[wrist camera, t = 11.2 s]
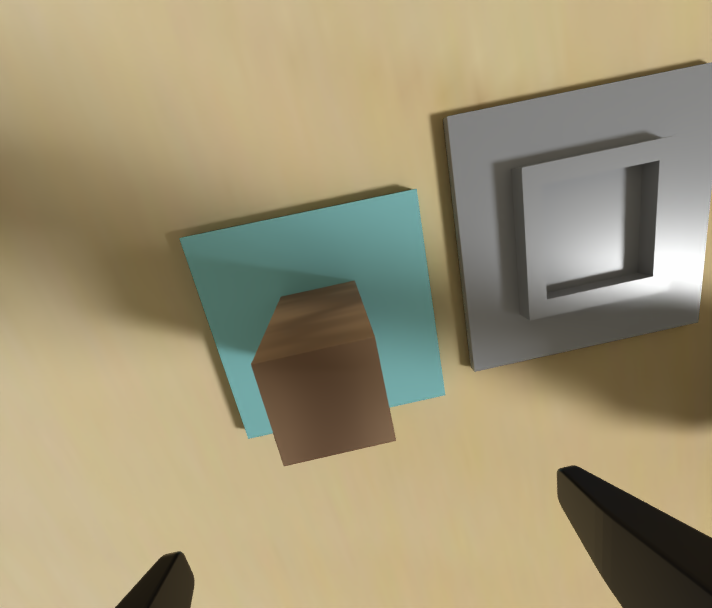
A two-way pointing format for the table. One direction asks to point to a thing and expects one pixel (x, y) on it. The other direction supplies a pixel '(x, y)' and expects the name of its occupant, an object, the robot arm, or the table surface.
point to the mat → (317, 270)
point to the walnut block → (322, 376)
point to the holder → (582, 214)
